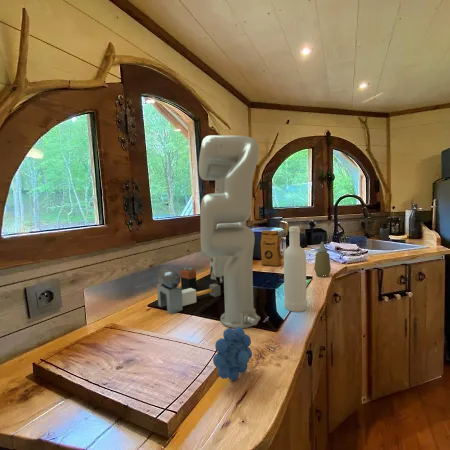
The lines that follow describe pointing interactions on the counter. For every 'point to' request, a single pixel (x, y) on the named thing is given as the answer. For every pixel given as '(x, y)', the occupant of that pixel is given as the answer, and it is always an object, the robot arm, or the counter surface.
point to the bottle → (295, 273)
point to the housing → (169, 291)
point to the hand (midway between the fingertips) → (222, 290)
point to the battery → (188, 278)
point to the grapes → (232, 353)
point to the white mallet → (191, 294)
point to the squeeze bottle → (322, 262)
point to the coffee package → (270, 248)
